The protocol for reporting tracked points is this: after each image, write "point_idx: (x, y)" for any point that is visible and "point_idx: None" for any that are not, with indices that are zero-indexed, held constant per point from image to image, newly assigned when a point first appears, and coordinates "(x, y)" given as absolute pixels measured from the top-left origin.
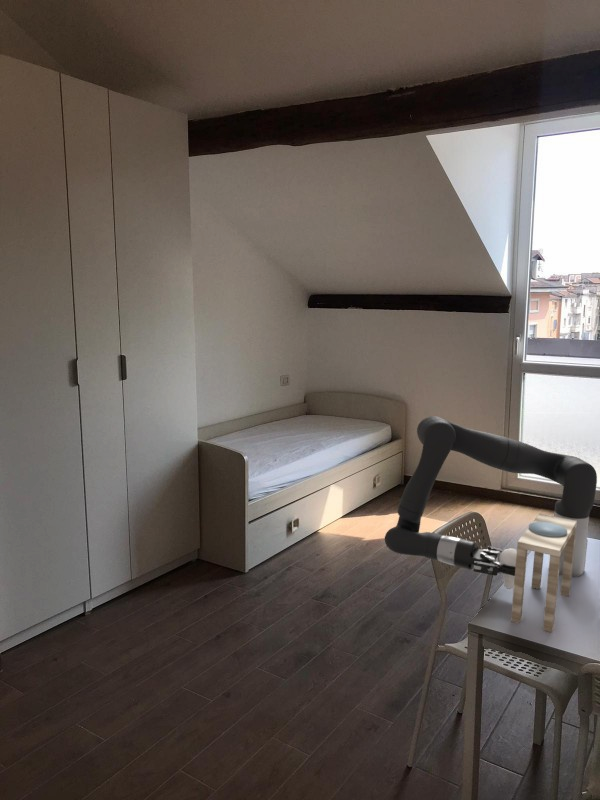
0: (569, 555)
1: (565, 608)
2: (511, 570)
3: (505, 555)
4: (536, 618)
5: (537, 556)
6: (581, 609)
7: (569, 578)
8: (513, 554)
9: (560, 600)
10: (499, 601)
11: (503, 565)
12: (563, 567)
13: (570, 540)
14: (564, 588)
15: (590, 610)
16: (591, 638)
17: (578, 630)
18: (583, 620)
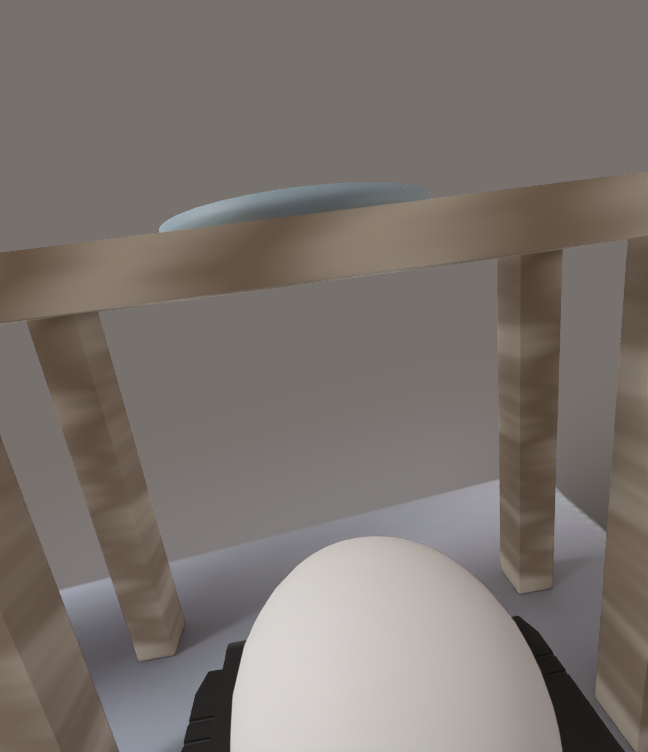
0: (131, 460)
1: None
2: (542, 647)
3: (520, 665)
4: None
5: (41, 638)
6: (277, 560)
7: (163, 555)
8: (447, 558)
9: (236, 634)
10: None
11: (588, 748)
12: (140, 535)
13: (108, 385)
14: (171, 613)
15: (269, 543)
16: (440, 497)
17: (428, 524)
18: (353, 535)
